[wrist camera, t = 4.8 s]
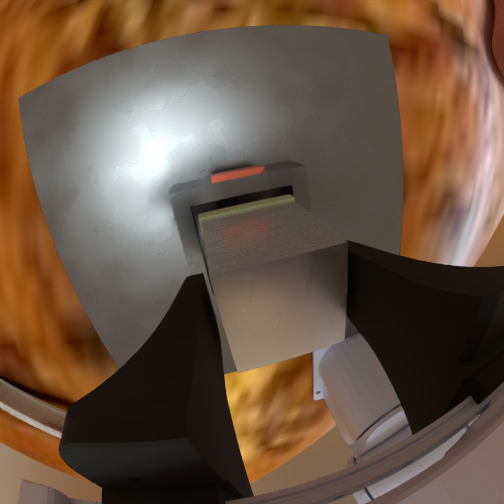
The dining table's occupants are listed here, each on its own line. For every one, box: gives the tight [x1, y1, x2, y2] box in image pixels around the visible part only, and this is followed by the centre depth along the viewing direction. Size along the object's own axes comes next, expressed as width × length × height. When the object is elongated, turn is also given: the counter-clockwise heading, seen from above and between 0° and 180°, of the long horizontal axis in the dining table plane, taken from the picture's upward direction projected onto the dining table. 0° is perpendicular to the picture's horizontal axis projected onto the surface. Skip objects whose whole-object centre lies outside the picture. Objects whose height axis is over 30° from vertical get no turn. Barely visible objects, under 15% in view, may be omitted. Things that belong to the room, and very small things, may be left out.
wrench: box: [0, 378, 67, 438], centre depth 19 cm, size 8×2×30 cm
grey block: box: [198, 194, 348, 373], centre depth 11 cm, size 4×4×5 cm
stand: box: [19, 25, 403, 374], centre depth 15 cm, size 22×22×4 cm
